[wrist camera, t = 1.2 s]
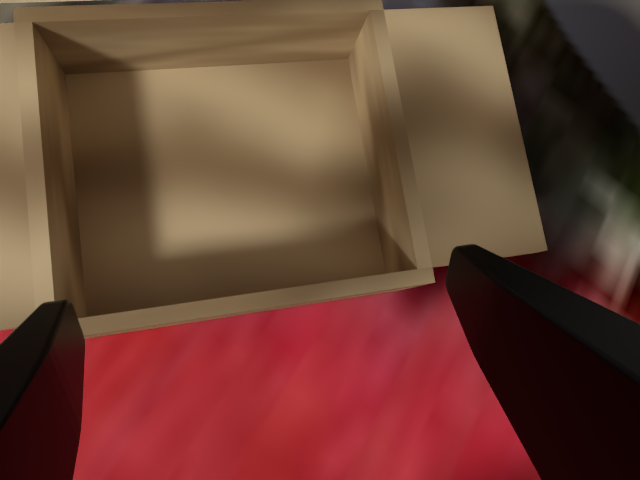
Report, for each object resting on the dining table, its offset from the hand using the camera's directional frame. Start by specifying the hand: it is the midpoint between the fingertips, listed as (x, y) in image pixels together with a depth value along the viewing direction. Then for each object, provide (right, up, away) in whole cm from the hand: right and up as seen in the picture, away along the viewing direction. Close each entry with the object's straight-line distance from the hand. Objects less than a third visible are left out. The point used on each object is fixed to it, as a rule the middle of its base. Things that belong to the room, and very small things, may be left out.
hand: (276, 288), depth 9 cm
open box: (-3, +3, +14) cm, 15 cm away
